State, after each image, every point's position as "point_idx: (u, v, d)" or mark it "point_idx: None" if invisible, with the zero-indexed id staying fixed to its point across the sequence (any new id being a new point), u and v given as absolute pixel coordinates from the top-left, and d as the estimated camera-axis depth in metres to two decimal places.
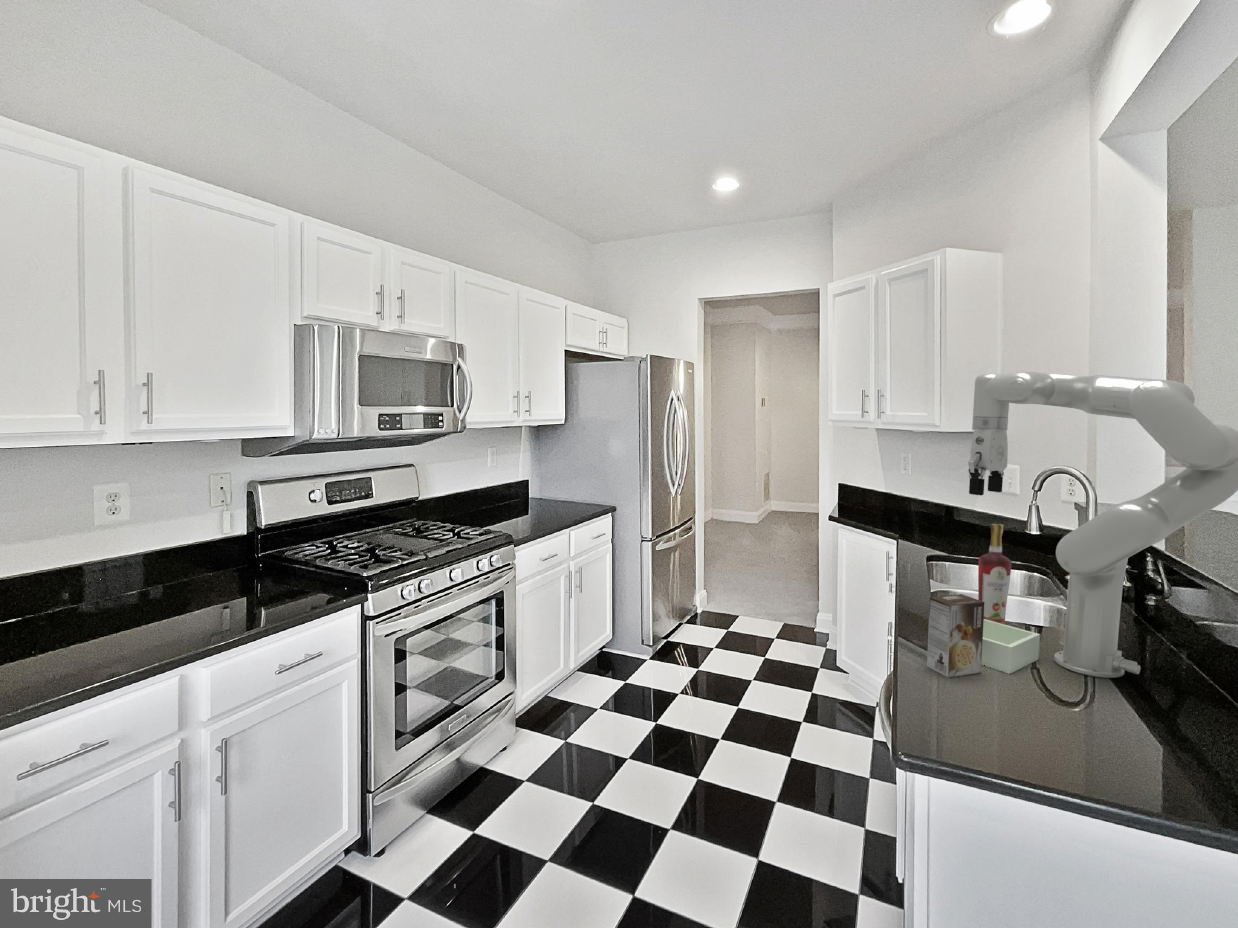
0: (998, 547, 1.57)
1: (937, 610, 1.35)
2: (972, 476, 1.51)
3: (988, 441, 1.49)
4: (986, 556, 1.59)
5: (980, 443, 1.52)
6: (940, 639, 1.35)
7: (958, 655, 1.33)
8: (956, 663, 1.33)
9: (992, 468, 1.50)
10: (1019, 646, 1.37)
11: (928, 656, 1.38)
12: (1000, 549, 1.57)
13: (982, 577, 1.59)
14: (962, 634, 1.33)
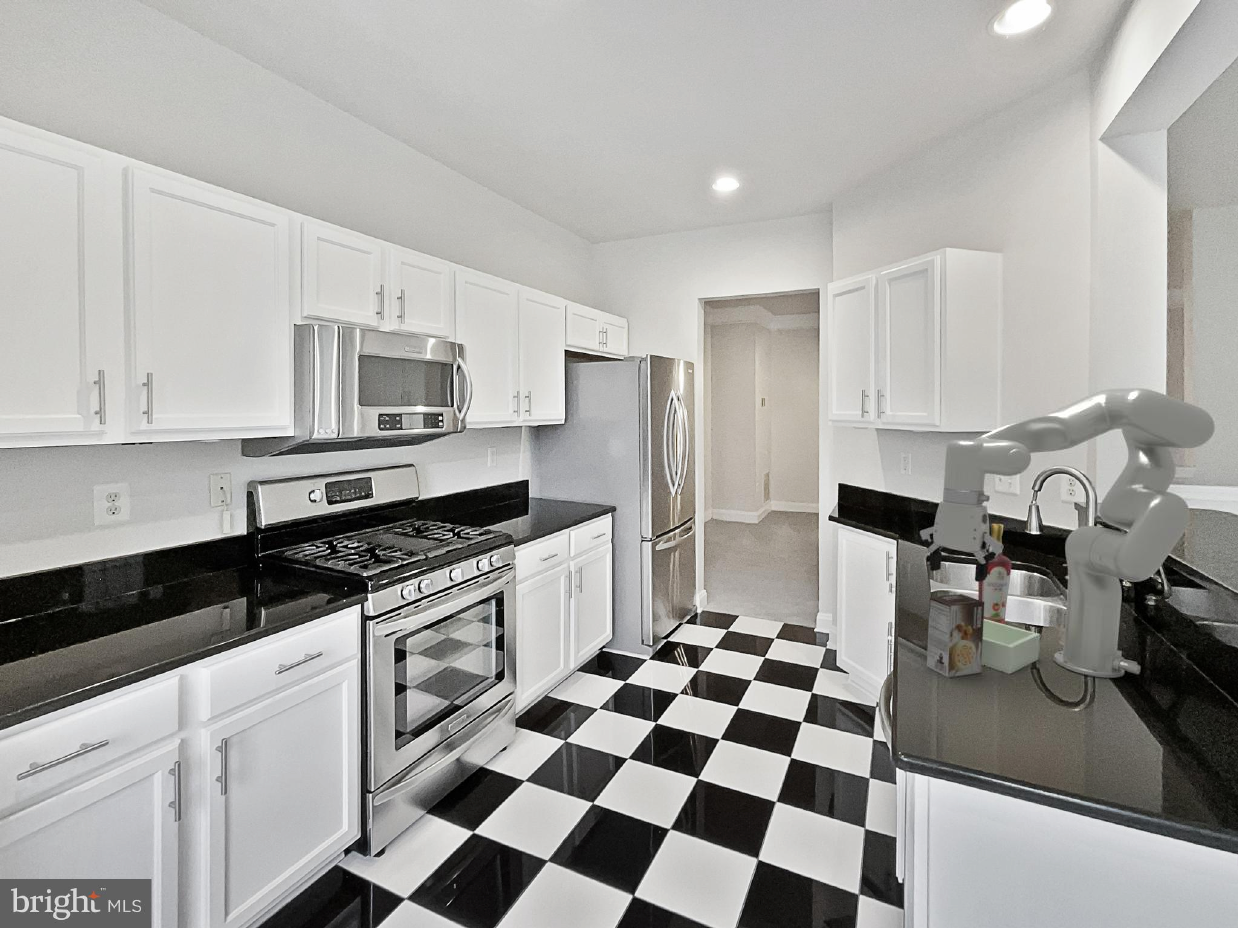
0: None
1: (937, 610, 1.35)
2: (988, 561, 1.29)
3: (988, 518, 1.31)
4: None
5: None
6: (940, 639, 1.35)
7: (958, 655, 1.33)
8: (956, 663, 1.33)
9: None
10: (1019, 646, 1.37)
11: (928, 656, 1.38)
12: None
13: None
14: (962, 634, 1.33)
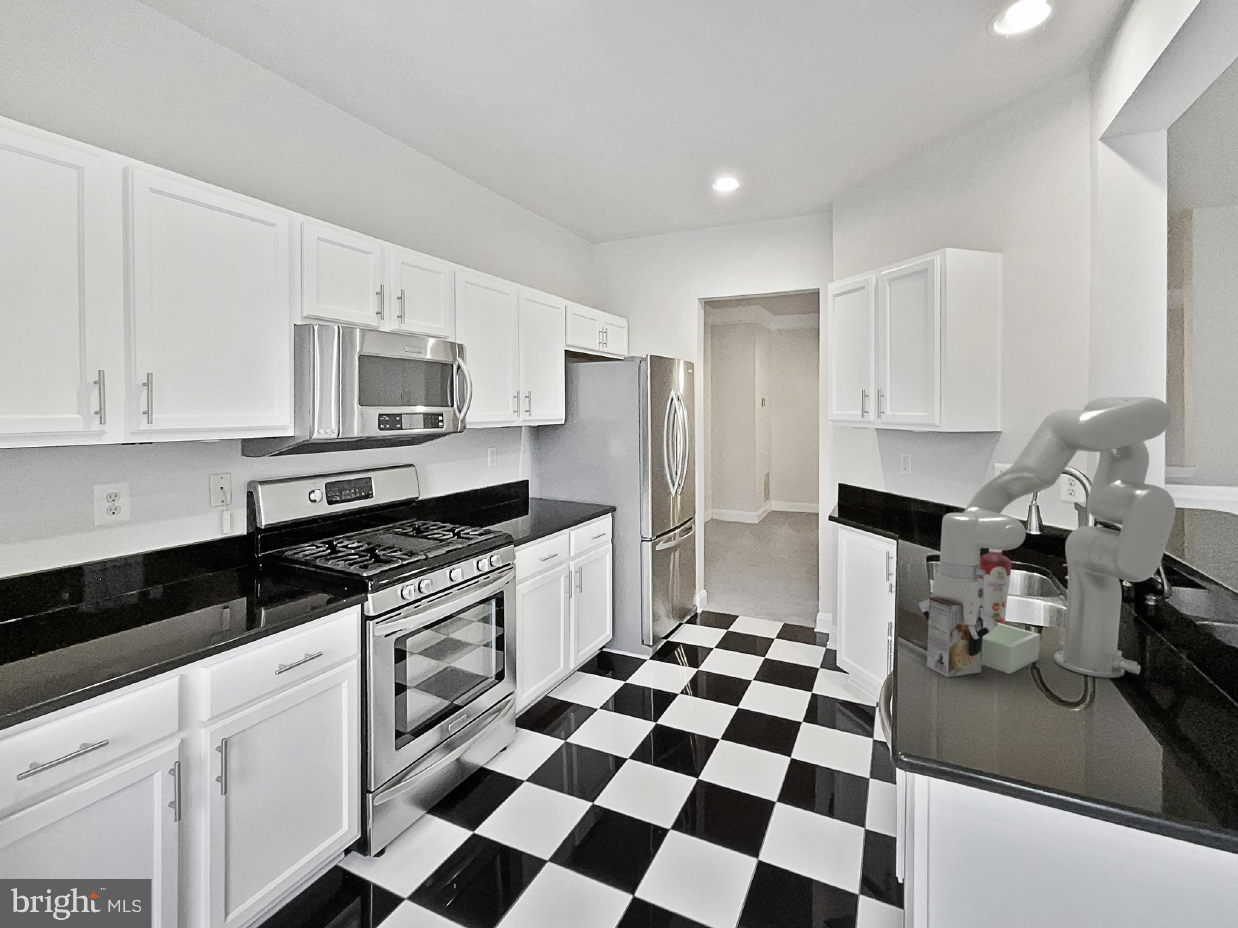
0: None
1: (937, 610, 1.35)
2: (981, 636, 1.31)
3: (984, 591, 1.33)
4: (986, 556, 1.59)
5: None
6: (940, 639, 1.35)
7: (958, 655, 1.33)
8: (956, 663, 1.33)
9: None
10: (1019, 646, 1.37)
11: (928, 656, 1.38)
12: None
13: (982, 577, 1.59)
14: (962, 633, 1.33)
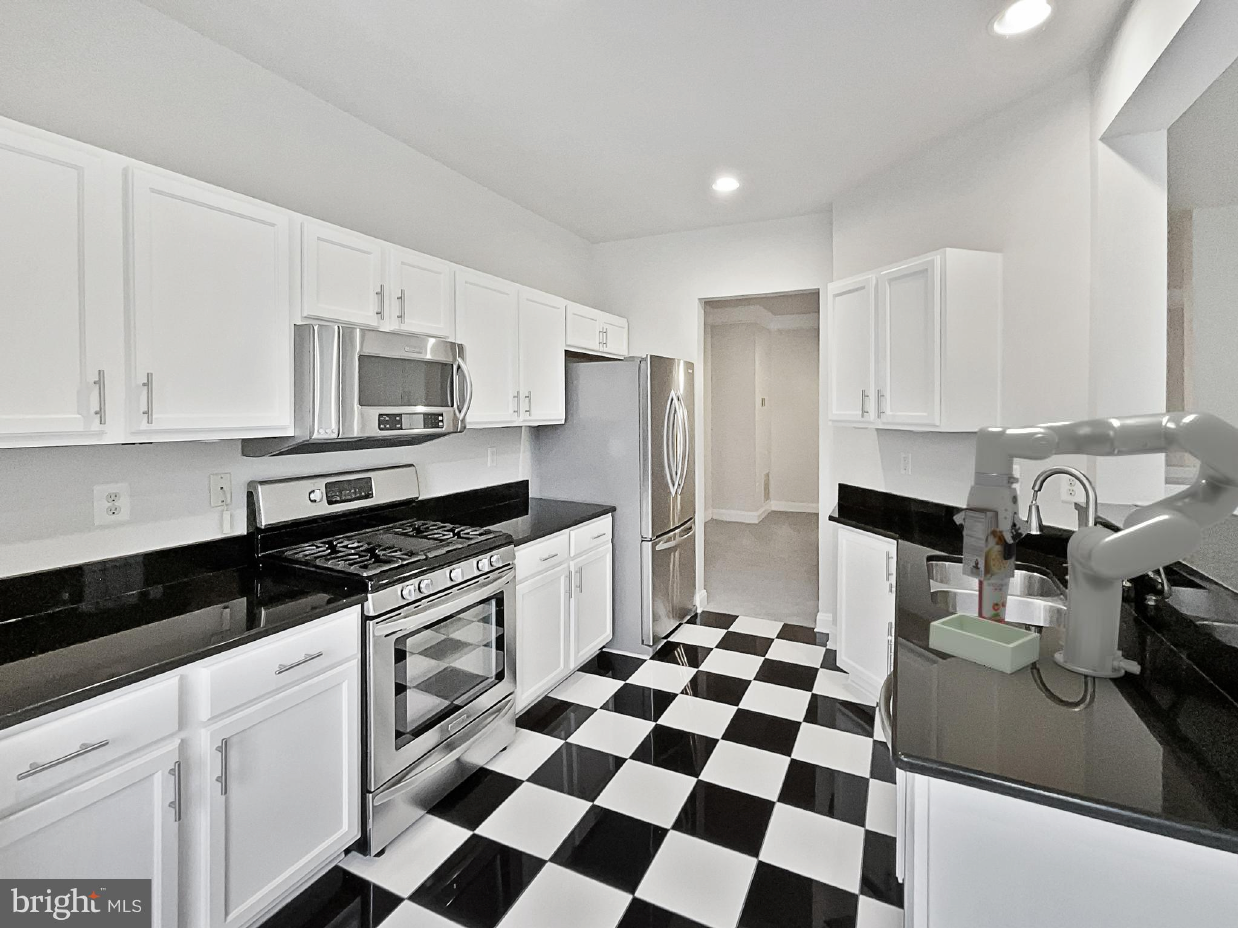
0: None
1: (972, 518, 1.43)
2: (1015, 541, 1.39)
3: (1017, 499, 1.40)
4: None
5: None
6: (975, 546, 1.42)
7: (993, 559, 1.41)
8: (991, 567, 1.41)
9: None
10: (1019, 646, 1.37)
11: (963, 564, 1.46)
12: None
13: None
14: (997, 539, 1.40)
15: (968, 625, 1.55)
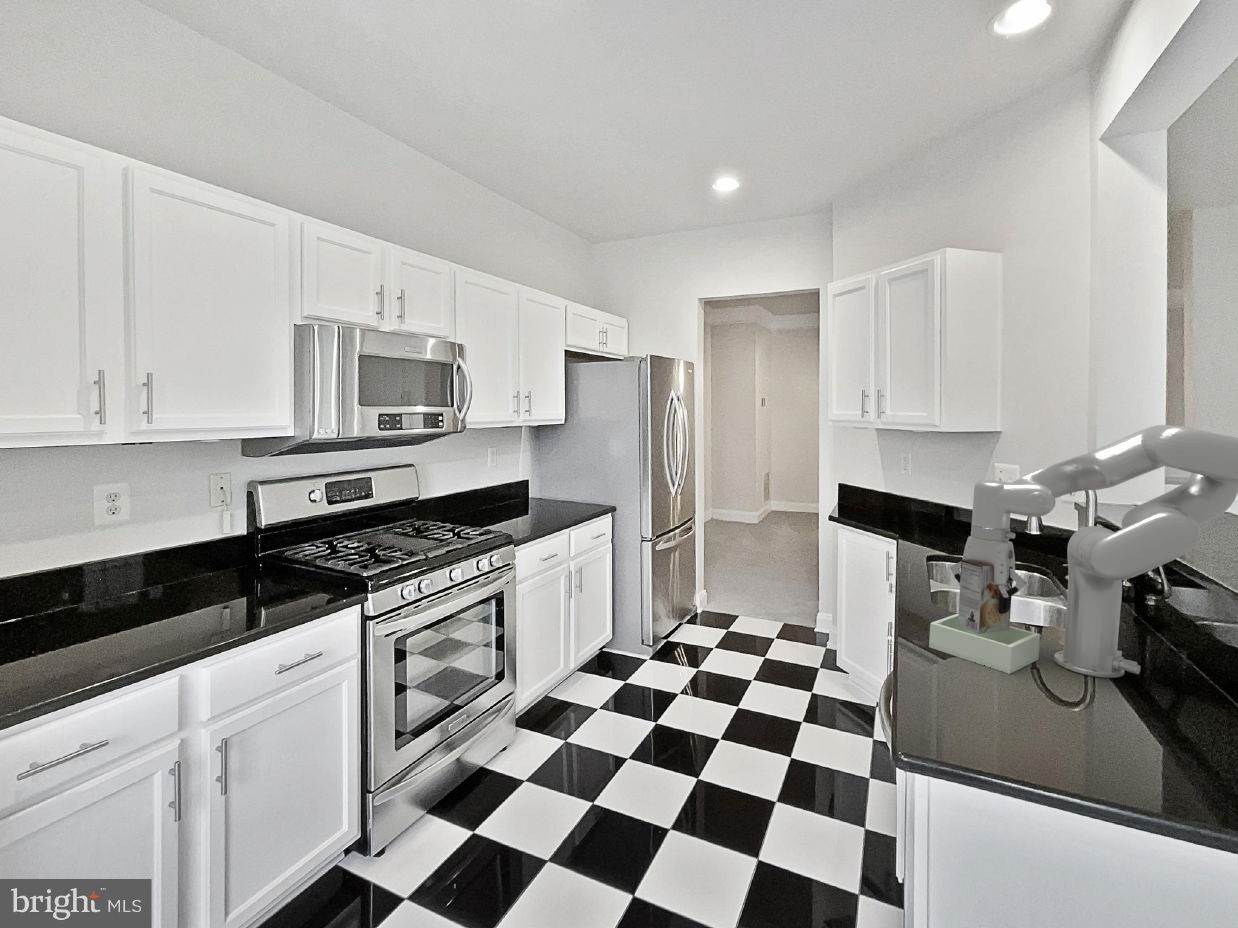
0: None
1: (969, 571, 1.44)
2: (1010, 595, 1.40)
3: None
4: None
5: None
6: (971, 598, 1.43)
7: (988, 613, 1.42)
8: (986, 620, 1.42)
9: None
10: (1019, 646, 1.37)
11: (959, 615, 1.47)
12: None
13: None
14: (992, 593, 1.42)
15: None
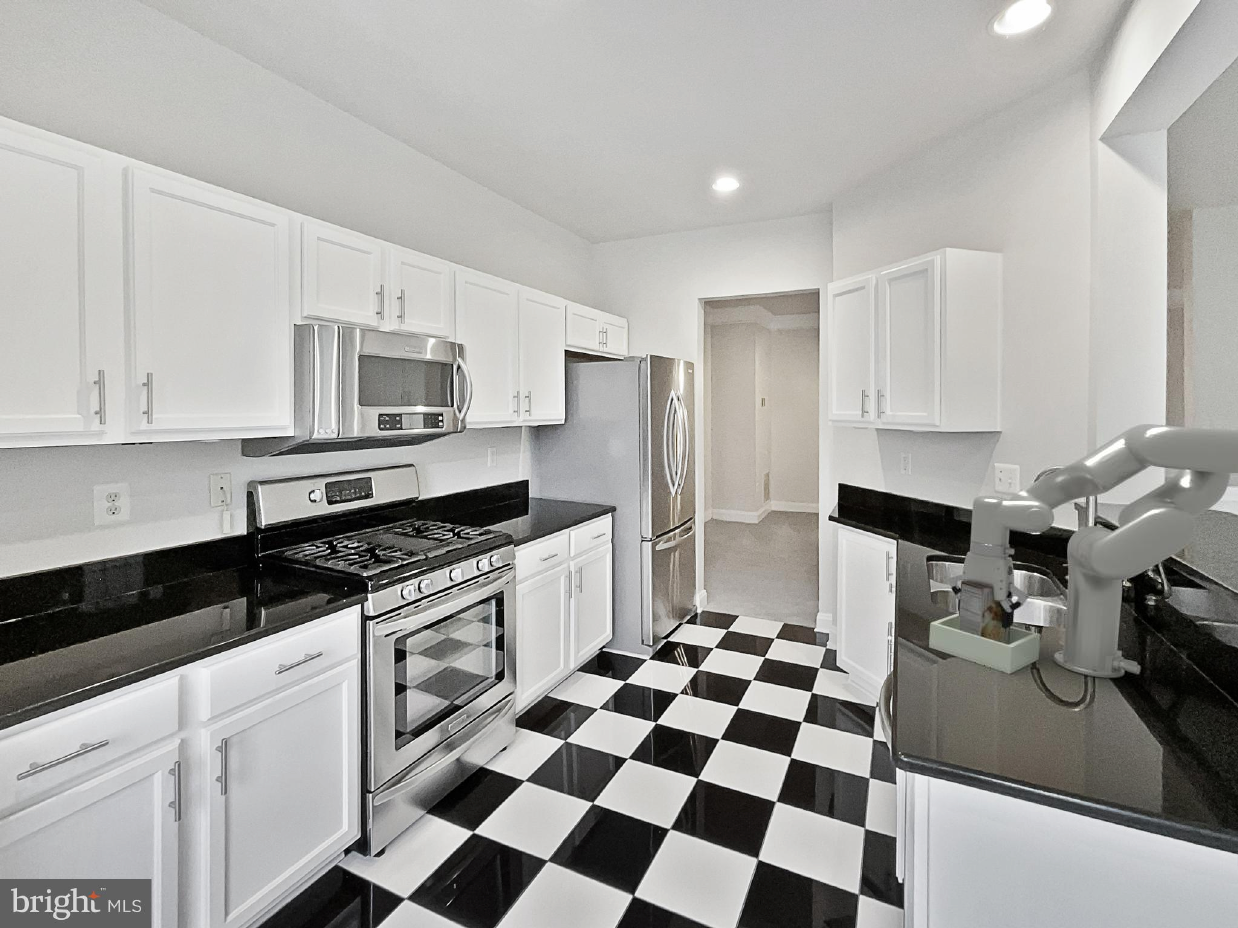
0: None
1: (969, 593, 1.44)
2: (1014, 609, 1.40)
3: None
4: None
5: None
6: (972, 620, 1.44)
7: (989, 634, 1.42)
8: None
9: None
10: (1019, 646, 1.37)
11: None
12: None
13: None
14: (993, 614, 1.42)
15: None
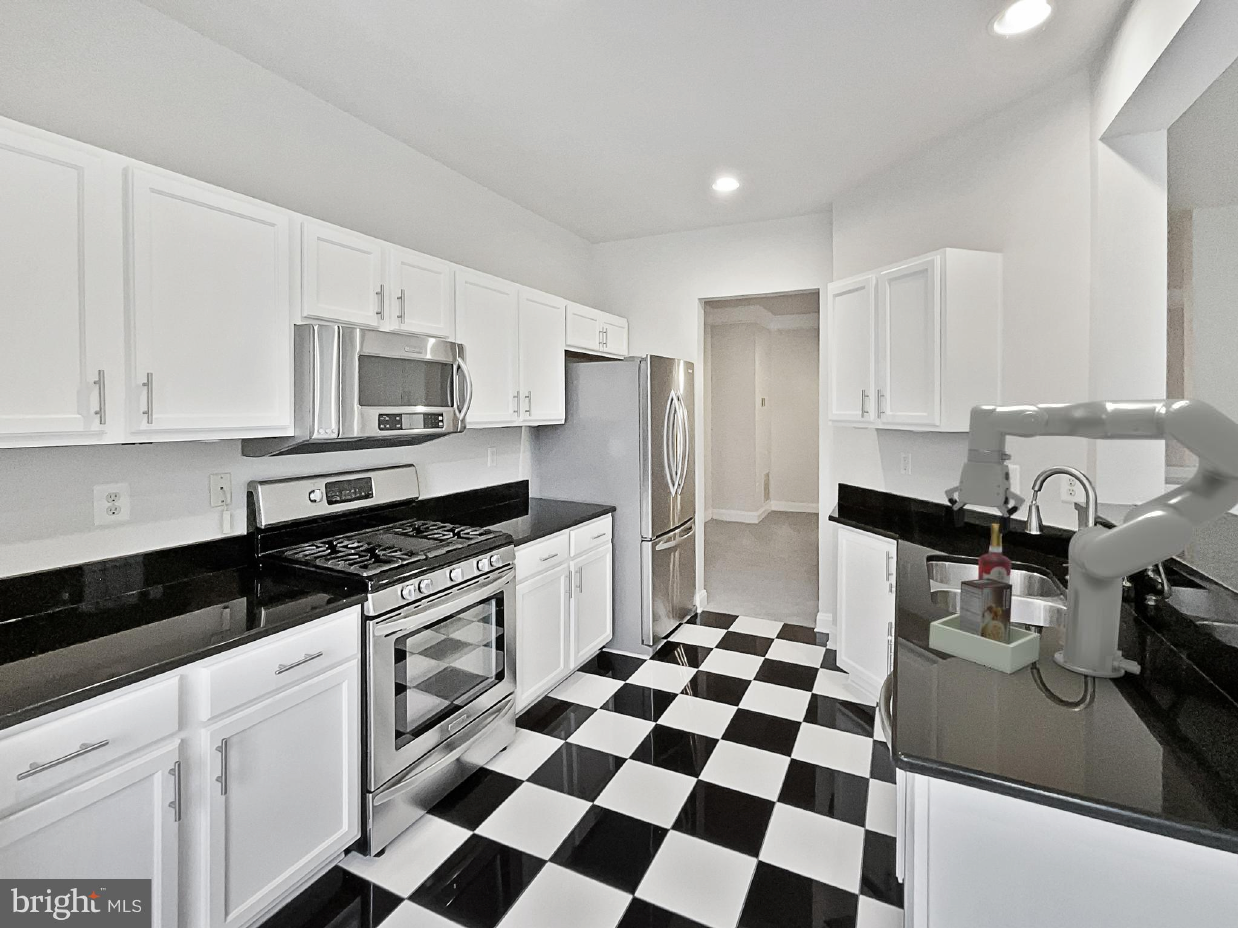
0: (998, 547, 1.57)
1: (969, 593, 1.44)
2: (1010, 514, 1.41)
3: (1009, 475, 1.43)
4: (986, 556, 1.59)
5: None
6: (971, 620, 1.44)
7: (989, 634, 1.42)
8: None
9: None
10: (1019, 646, 1.37)
11: None
12: (1000, 549, 1.57)
13: (982, 577, 1.59)
14: (993, 614, 1.42)
15: None
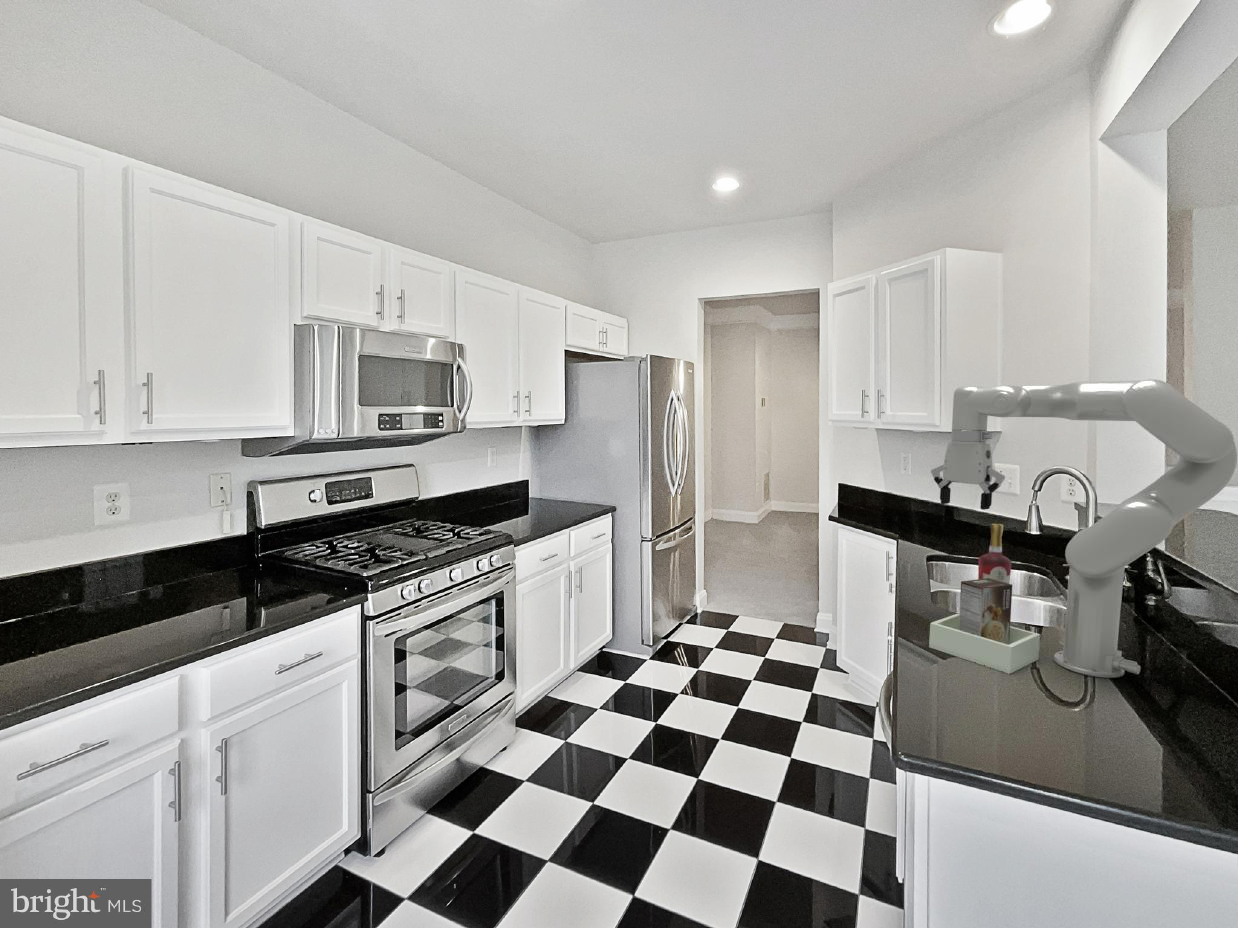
0: (998, 547, 1.57)
1: (969, 593, 1.44)
2: (991, 491, 1.48)
3: (991, 454, 1.50)
4: (986, 556, 1.59)
5: None
6: (971, 620, 1.44)
7: (989, 634, 1.42)
8: None
9: None
10: (1019, 646, 1.37)
11: None
12: (1000, 549, 1.57)
13: (982, 577, 1.59)
14: (993, 614, 1.42)
15: None
